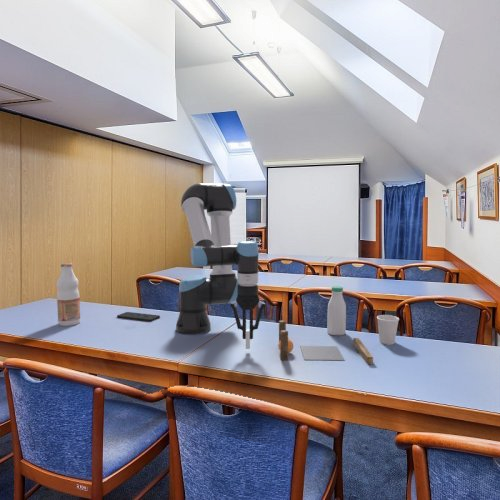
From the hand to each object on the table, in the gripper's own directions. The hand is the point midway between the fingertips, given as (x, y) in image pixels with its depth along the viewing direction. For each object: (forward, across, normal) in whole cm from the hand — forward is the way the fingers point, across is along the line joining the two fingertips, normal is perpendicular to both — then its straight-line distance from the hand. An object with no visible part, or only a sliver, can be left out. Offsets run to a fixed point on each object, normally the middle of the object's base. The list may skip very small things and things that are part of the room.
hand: (247, 347), depth 144 cm
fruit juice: (+2, -84, +35) cm, 91 cm away
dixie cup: (+2, +55, +13) cm, 57 cm away
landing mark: (+2, +27, 0) cm, 27 cm away
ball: (-1, +14, 0) cm, 14 cm away
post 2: (+2, +13, -6) cm, 15 cm away
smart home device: (+3, -55, +46) cm, 72 cm away
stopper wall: (+2, +42, 0) cm, 42 cm away
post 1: (+2, +13, +6) cm, 15 cm away
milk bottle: (+2, +37, +24) cm, 44 cm away
